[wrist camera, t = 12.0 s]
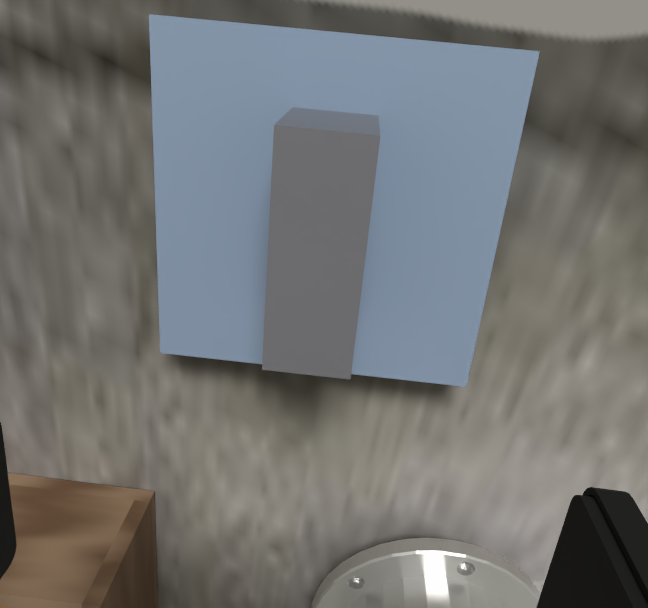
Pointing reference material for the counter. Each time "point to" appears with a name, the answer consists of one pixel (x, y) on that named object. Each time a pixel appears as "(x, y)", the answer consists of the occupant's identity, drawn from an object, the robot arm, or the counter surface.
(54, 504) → the box
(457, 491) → the counter surface
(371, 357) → the lid
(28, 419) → the counter surface
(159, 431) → the counter surface
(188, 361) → the counter surface
